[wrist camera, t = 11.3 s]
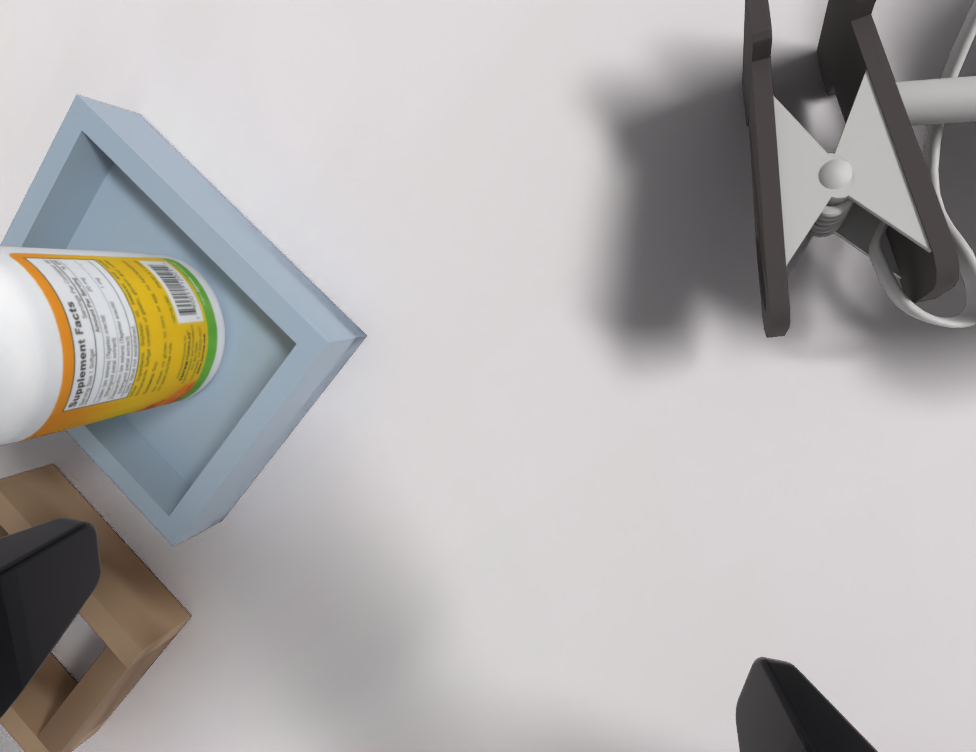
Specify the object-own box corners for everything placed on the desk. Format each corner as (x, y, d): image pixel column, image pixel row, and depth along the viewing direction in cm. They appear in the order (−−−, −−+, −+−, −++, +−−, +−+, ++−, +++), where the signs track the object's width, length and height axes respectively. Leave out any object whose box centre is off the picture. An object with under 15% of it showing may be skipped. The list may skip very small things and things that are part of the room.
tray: (367, 335, 21) (328, 342, 19) (221, 520, 24) (173, 546, 22) (139, 113, 23) (76, 94, 20) (28, 315, 26) (-37, 319, 23)
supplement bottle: (104, 376, 24) (-251, 438, 15) (119, 238, 23) (-258, 211, 14) (220, 418, 23) (-91, 513, 13) (241, 274, 21) (-83, 270, 12)
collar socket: (191, 616, 26) (142, 650, 23) (96, 732, 28) (43, 773, 26) (52, 463, 27) (-9, 481, 24) (-27, 590, 29) (-89, 617, 27)
